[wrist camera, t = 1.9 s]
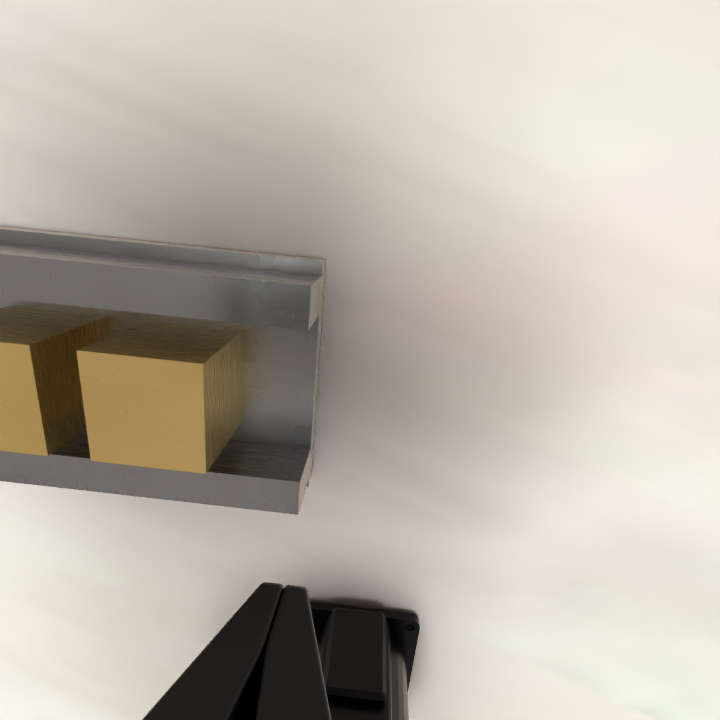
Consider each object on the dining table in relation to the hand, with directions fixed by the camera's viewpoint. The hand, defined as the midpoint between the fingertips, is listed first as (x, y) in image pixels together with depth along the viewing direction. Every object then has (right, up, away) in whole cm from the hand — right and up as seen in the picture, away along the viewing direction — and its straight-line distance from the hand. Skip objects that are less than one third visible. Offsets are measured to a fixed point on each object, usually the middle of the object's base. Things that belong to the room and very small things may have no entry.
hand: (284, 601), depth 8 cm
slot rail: (-9, +5, +11) cm, 15 cm away
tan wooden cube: (-5, +4, +10) cm, 12 cm away
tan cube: (-11, +5, +10) cm, 15 cm away
